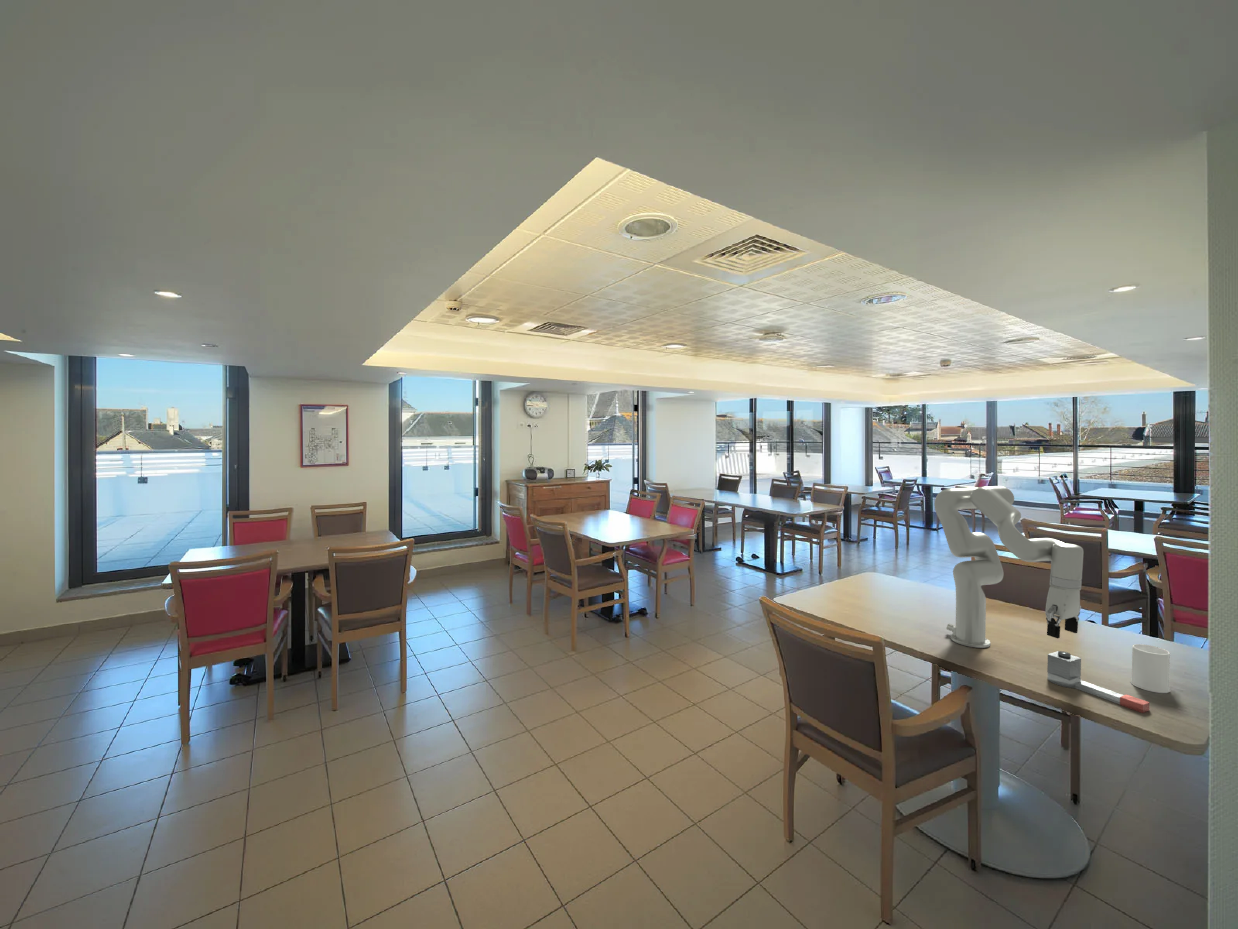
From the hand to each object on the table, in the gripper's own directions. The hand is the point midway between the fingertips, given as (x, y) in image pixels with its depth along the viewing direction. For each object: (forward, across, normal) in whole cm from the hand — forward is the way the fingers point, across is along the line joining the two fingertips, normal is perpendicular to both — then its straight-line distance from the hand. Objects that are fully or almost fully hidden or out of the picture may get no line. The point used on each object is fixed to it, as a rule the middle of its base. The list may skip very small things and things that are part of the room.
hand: (1062, 634), depth 160 cm
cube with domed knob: (+13, 0, +1) cm, 13 cm away
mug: (+15, -22, +14) cm, 30 cm away
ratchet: (+15, 0, +9) cm, 18 cm away
